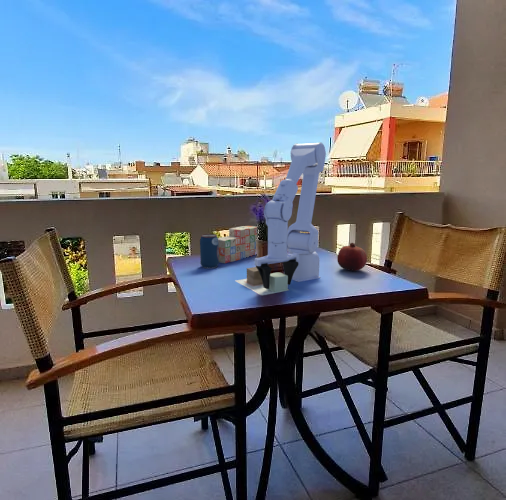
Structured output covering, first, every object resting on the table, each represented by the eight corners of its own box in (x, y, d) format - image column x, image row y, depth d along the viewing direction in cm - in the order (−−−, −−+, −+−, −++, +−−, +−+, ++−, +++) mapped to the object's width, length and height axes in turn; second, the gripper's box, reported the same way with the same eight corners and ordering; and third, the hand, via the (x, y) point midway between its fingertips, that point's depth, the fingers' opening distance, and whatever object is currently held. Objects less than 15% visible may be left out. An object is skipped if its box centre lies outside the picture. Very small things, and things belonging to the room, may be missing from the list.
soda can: (222, 267, 140) (221, 235, 137) (206, 269, 136) (205, 237, 134) (213, 263, 146) (212, 233, 143) (197, 265, 142) (196, 234, 139)
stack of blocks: (225, 264, 145) (224, 232, 142) (213, 261, 149) (213, 231, 146) (259, 254, 161) (259, 226, 159) (247, 252, 165) (247, 225, 163)
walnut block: (258, 279, 122) (258, 266, 121) (266, 283, 118) (266, 269, 117) (246, 281, 120) (246, 268, 119) (253, 285, 116) (253, 271, 115)
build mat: (260, 277, 126) (260, 276, 126) (290, 291, 112) (290, 289, 112) (234, 281, 121) (234, 280, 121) (261, 296, 107) (261, 295, 107)
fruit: (331, 268, 138) (332, 241, 136) (354, 265, 141) (356, 239, 139) (347, 275, 128) (348, 247, 126) (371, 273, 131) (373, 245, 129)
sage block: (279, 286, 115) (279, 272, 114) (287, 290, 111) (287, 275, 110) (266, 288, 113) (266, 274, 112) (274, 292, 109) (275, 277, 108)
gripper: (290, 237, 116) (289, 279, 119) (249, 241, 109) (249, 286, 112) (303, 241, 110) (302, 285, 113) (261, 245, 103) (261, 292, 106)
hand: (277, 286), depth 112 cm, fingers open, 7 cm apart
